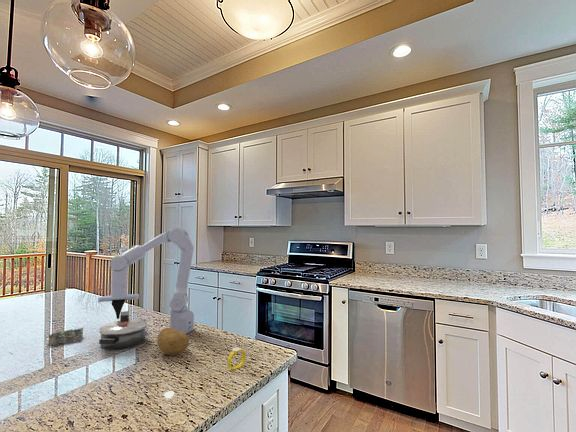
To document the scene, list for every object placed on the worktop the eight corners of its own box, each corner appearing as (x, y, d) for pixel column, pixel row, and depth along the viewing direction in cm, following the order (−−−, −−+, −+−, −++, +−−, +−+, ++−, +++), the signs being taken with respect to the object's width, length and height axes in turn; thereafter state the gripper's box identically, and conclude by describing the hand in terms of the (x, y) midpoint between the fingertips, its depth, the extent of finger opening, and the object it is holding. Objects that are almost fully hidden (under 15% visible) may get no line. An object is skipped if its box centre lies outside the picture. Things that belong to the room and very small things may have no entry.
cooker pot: (126, 354, 103) (127, 339, 103) (84, 353, 103) (85, 338, 103) (159, 330, 127) (159, 318, 127) (124, 330, 127) (125, 318, 127)
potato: (169, 364, 95) (169, 339, 95) (150, 352, 104) (151, 329, 105) (196, 355, 102) (196, 331, 103) (176, 344, 112) (177, 323, 112)
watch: (231, 373, 90) (230, 354, 90) (226, 370, 92) (225, 351, 92) (247, 365, 94) (246, 347, 94) (241, 362, 96) (241, 344, 96)
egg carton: (46, 346, 110) (46, 335, 110) (52, 339, 116) (52, 329, 117) (80, 342, 114) (81, 331, 114) (84, 335, 121) (84, 325, 121)
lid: (147, 331, 110) (148, 323, 111) (97, 338, 103) (97, 329, 103) (145, 316, 130) (145, 309, 130) (102, 321, 122) (102, 313, 122)
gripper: (139, 282, 129) (138, 313, 128) (100, 284, 123) (99, 317, 122) (138, 285, 122) (137, 318, 122) (97, 287, 117) (95, 322, 116)
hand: (118, 318), depth 122 cm, fingers closed
